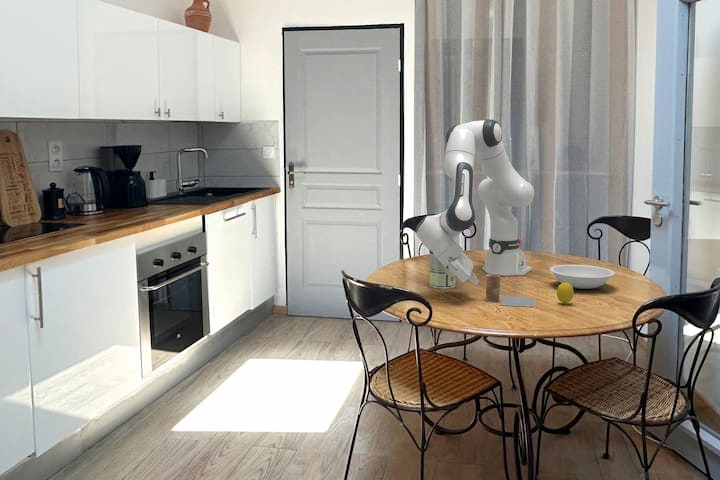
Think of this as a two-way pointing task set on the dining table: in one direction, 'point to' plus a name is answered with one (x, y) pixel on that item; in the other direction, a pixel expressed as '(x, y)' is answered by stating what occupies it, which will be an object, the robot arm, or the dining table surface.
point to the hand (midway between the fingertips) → (477, 283)
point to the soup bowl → (582, 275)
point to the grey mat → (517, 301)
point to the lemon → (565, 292)
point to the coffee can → (440, 274)
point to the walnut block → (493, 287)
